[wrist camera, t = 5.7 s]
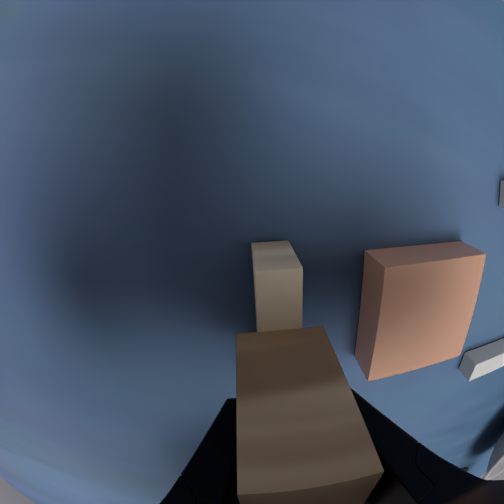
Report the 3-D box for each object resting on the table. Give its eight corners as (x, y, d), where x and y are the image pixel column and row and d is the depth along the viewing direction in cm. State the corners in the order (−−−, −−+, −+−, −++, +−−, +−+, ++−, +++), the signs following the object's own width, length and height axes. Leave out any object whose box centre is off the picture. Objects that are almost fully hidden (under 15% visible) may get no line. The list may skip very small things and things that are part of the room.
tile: (438, 332, 15) (460, 355, 13) (352, 352, 15) (367, 381, 13) (456, 238, 13) (485, 254, 11) (361, 247, 13) (385, 267, 11)
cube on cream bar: (232, 244, 12) (221, 436, 4) (306, 239, 12) (417, 404, 4) (245, 382, 15) (252, 545, 6) (302, 377, 15) (341, 533, 6)
